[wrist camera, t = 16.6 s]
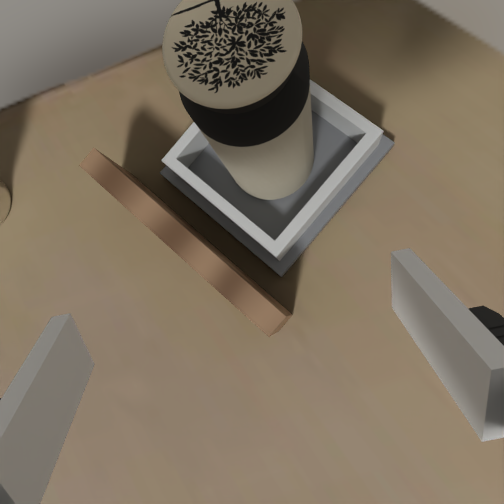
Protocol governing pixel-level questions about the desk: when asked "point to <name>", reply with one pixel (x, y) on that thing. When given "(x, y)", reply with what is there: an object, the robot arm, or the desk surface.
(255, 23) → the travel mug
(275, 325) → the door edge rail
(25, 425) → the robot arm
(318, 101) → the socket
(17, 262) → the desk surface
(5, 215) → the beer glass
